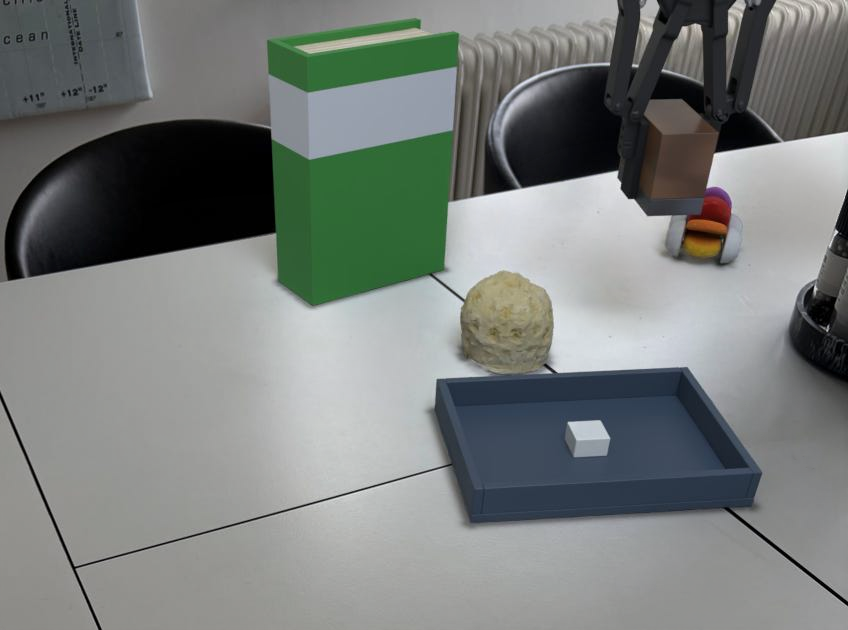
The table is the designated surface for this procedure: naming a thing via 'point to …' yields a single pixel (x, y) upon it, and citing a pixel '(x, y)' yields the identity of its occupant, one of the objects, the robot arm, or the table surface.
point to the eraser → (674, 160)
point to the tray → (600, 475)
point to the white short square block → (587, 438)
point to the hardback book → (361, 155)
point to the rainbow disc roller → (707, 229)
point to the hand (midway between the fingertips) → (658, 192)
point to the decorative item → (507, 324)
